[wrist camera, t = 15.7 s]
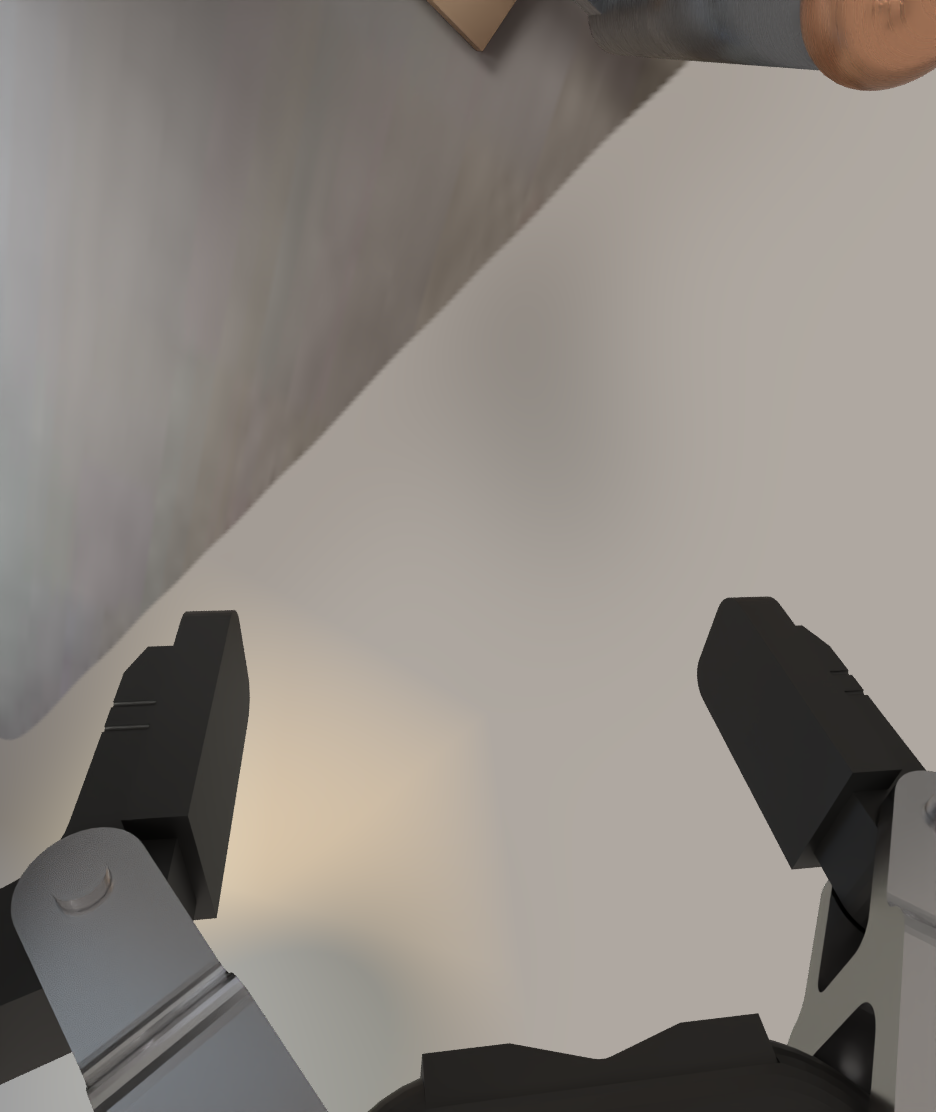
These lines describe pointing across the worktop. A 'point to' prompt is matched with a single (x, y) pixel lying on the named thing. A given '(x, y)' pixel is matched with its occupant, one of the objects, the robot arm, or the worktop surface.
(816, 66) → the lever
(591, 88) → the worktop surface
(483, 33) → the cracker base
